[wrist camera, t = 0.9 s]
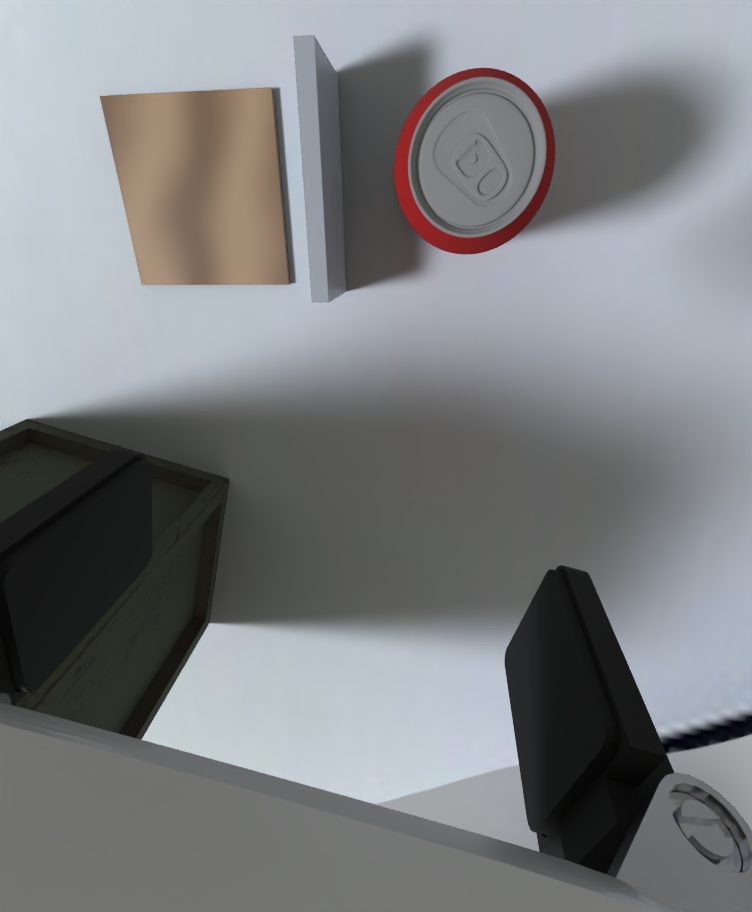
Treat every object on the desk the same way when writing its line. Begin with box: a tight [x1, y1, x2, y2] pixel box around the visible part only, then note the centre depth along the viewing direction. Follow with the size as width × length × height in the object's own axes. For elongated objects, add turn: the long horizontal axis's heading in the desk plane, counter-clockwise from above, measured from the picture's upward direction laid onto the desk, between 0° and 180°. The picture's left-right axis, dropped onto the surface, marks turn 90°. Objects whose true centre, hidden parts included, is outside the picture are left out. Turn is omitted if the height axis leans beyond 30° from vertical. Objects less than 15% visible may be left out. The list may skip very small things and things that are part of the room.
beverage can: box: [394, 68, 555, 254], centre depth 23 cm, size 7×7×12 cm
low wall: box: [293, 35, 346, 302], centre depth 27 cm, size 1×12×6 cm, turn 0°
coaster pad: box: [100, 88, 290, 285], centre depth 30 cm, size 11×11×1 cm
